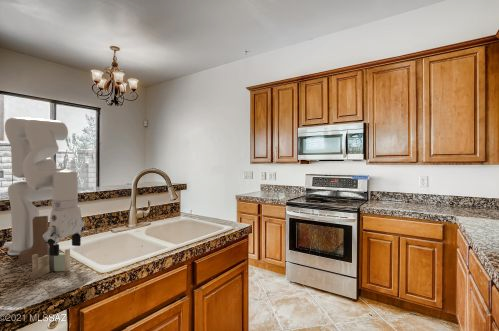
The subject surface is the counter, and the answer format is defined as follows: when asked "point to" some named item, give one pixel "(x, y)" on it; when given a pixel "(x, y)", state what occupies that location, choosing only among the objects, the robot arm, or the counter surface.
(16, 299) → the counter surface
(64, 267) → the fence swing section
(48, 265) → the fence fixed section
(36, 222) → the wooden block
